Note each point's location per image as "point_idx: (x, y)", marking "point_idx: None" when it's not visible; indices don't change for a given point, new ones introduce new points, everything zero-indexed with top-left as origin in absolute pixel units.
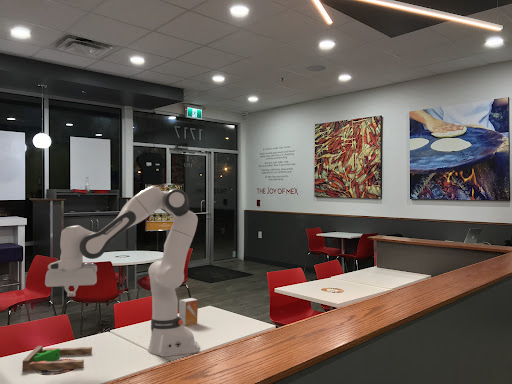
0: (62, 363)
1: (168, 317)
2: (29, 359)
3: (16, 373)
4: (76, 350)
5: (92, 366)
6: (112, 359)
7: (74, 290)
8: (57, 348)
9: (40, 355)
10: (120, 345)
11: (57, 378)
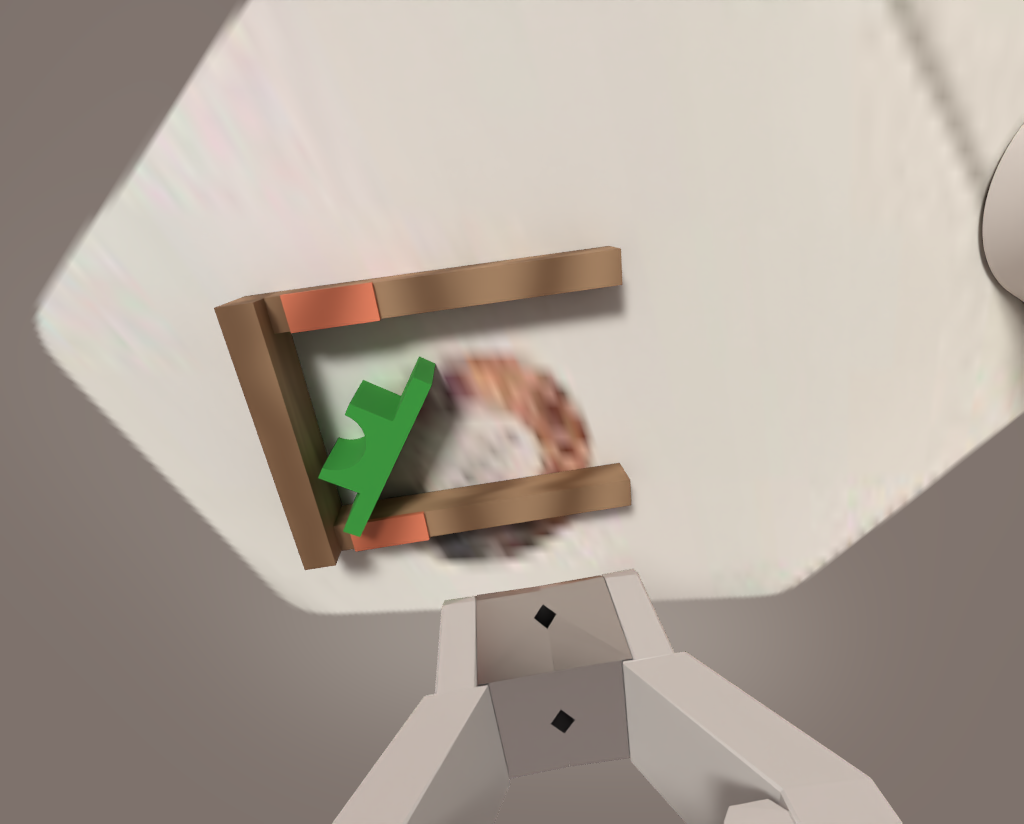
0: (523, 519)
1: None
2: (330, 545)
3: None
4: (521, 298)
5: (667, 467)
6: (760, 368)
7: (700, 814)
8: (414, 381)
9: (368, 506)
10: (792, 72)
11: None
